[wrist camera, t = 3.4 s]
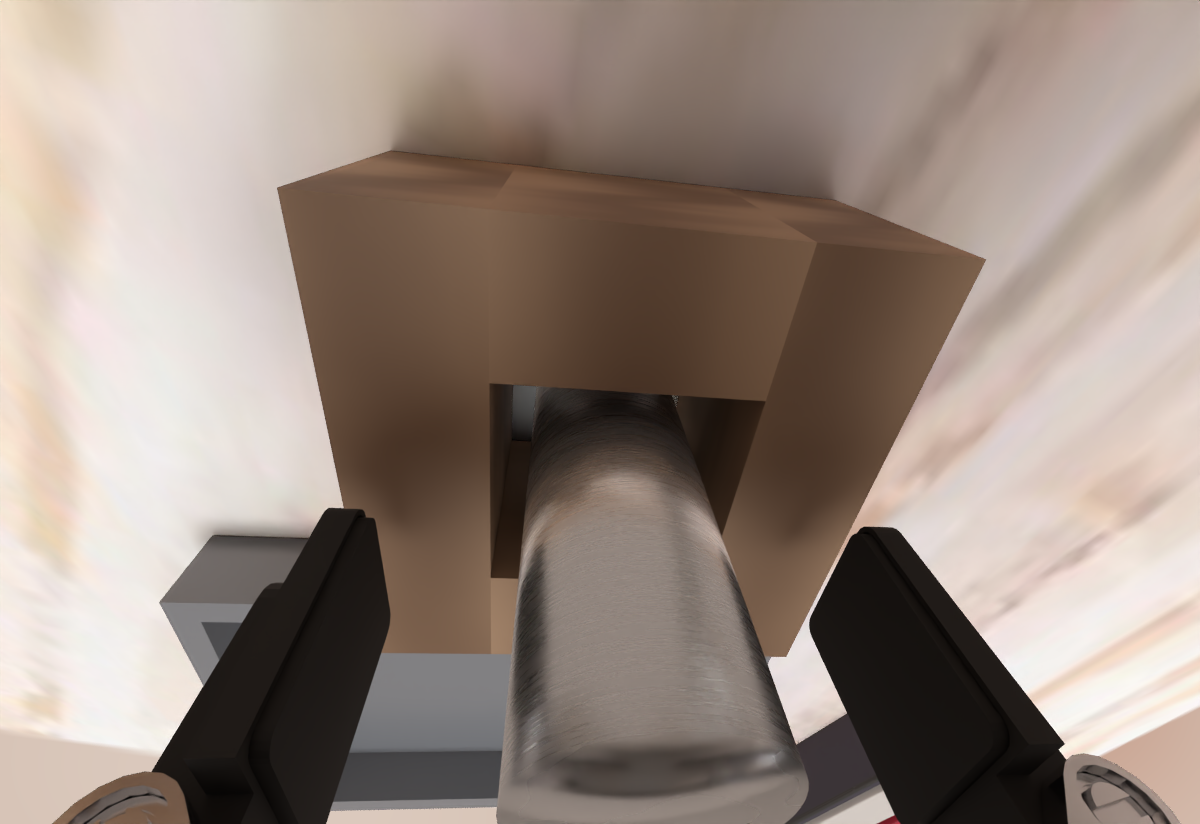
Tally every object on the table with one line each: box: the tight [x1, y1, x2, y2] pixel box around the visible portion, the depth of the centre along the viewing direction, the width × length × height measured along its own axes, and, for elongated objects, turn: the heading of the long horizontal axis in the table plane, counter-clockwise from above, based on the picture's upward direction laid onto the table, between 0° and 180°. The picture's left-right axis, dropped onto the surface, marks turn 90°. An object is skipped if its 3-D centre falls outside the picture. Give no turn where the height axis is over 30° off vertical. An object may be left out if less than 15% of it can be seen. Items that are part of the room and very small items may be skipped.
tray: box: [159, 536, 771, 811], centre depth 23 cm, size 22×16×3 cm
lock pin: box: [496, 386, 809, 824], centre depth 12 cm, size 4×4×12 cm
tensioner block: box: [277, 151, 986, 657], centre depth 14 cm, size 12×12×6 cm
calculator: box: [785, 714, 900, 824], centre depth 33 cm, size 11×4×15 cm
